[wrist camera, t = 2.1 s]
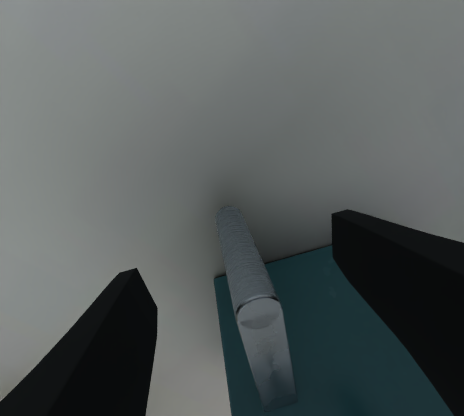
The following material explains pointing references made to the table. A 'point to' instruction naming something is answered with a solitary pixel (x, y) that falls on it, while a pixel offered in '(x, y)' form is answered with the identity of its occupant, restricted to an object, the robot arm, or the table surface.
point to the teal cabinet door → (308, 338)
